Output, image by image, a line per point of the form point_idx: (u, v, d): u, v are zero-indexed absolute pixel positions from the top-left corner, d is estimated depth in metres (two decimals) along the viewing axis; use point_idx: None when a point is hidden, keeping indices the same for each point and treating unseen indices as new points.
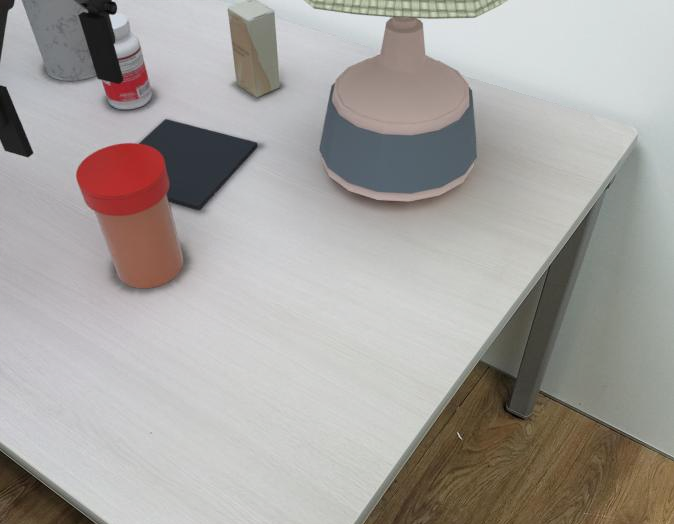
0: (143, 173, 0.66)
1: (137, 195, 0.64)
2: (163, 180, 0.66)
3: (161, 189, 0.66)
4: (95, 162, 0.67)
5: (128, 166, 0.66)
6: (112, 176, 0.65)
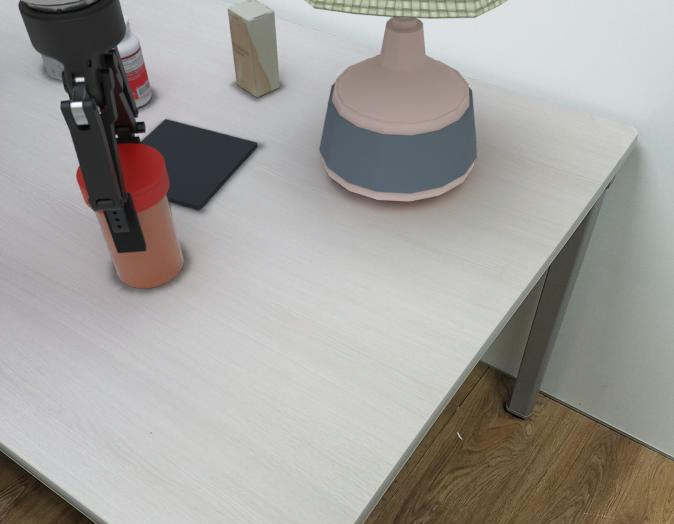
0: (143, 173, 0.66)
1: (137, 195, 0.64)
2: (163, 180, 0.66)
3: (161, 189, 0.66)
4: None
5: (128, 166, 0.66)
6: None
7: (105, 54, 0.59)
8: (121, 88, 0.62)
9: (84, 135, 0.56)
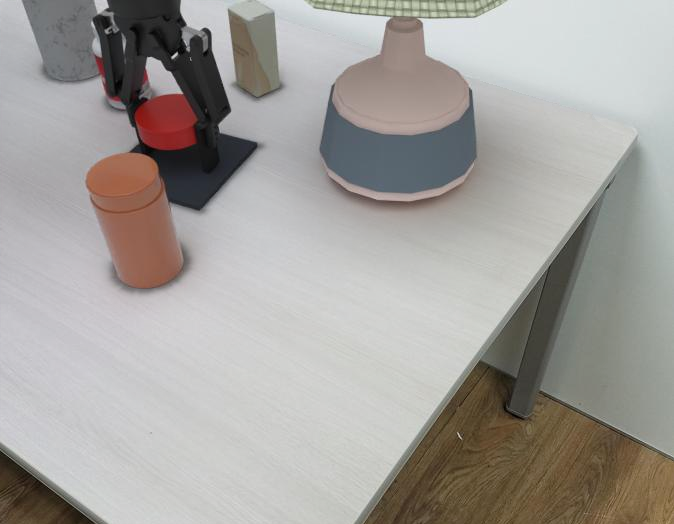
0: (150, 119, 0.81)
1: None
2: (144, 134, 0.81)
3: (142, 135, 0.82)
4: None
5: (168, 115, 0.82)
6: (164, 107, 0.83)
7: (152, 31, 0.73)
8: (164, 66, 0.76)
9: None
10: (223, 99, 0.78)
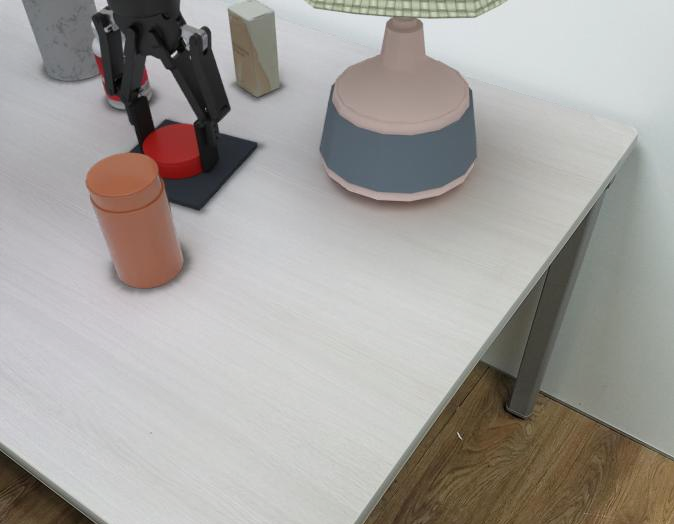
0: (158, 150, 0.84)
1: None
2: None
3: None
4: None
5: (174, 145, 0.85)
6: (170, 137, 0.86)
7: (152, 29, 0.73)
8: (164, 65, 0.75)
9: None
10: (223, 98, 0.78)
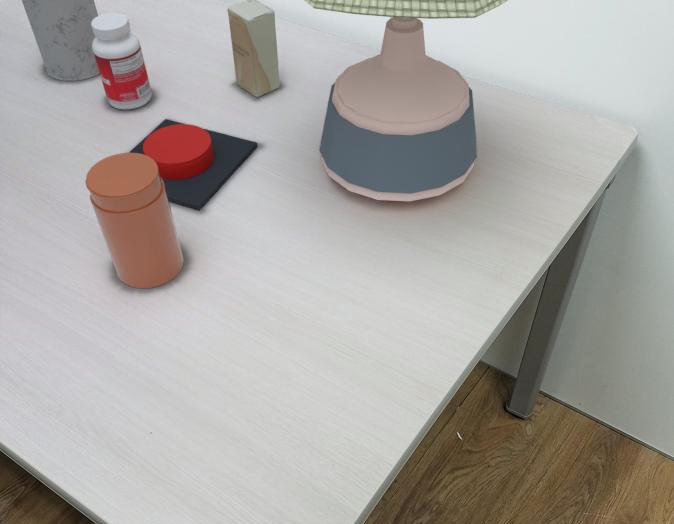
0: (158, 150, 0.84)
1: None
2: None
3: None
4: (196, 134, 0.87)
5: (174, 146, 0.85)
6: (171, 137, 0.86)
7: None
8: None
9: None
10: None
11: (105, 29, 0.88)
